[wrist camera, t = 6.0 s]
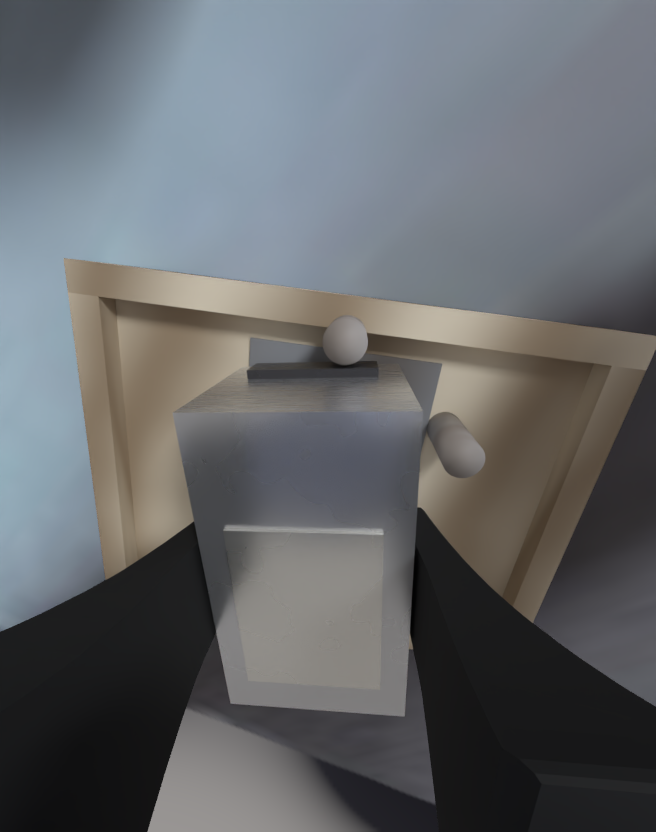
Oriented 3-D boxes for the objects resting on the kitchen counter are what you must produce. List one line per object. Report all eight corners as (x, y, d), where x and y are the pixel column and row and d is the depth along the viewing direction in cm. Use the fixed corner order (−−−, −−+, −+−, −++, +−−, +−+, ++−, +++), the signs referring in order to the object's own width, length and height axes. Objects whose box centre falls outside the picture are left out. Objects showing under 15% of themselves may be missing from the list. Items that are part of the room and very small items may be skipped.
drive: (398, 355, 11) (425, 400, 6) (390, 586, 14) (405, 721, 10) (241, 359, 11) (167, 402, 7) (268, 581, 14) (229, 707, 10)
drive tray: (613, 329, 12) (719, 345, 8) (495, 624, 17) (531, 711, 13) (107, 263, 13) (11, 252, 9) (135, 564, 17) (78, 633, 14)
